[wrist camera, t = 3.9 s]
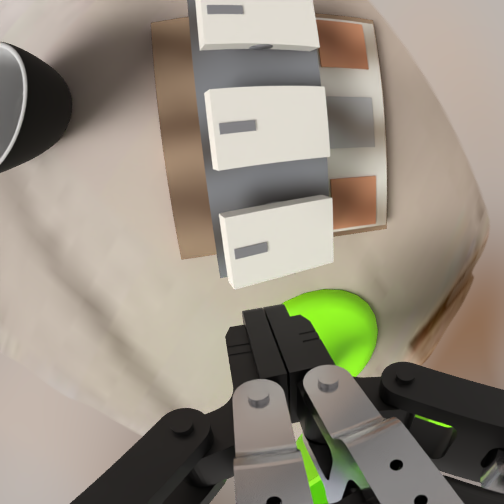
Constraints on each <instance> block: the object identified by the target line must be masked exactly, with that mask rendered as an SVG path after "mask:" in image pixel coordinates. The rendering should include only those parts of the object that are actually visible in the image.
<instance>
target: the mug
mask: <svg viewBox="0 0 504 504" xmlns="http://www.w3.org/2000/svg"><path fill="white" fill-rule="evenodd" d="M71 110H72V99H71V94H70V91H69V88H68V86H67V84H66V83H65V81H64V80H63V78H62V77H61V76H60V75H59V74H58V73H57V72H56V71H55V70H54V69H53V68H51V67H50V66H49V65H48V64H46V63H45V62H43V61H42V60H40V59H39V58H37V57H36V56H34V55H32V54H31V53H29V52H27V51H25V50H23V49H21V48H19V47H16V46H14V45H11V44H8V43H4V42H0V173H1V172H4V171H6V170H9V169H11V168H14V167H16V166H18V165H20V164H22V163H25V162H27V161H29V160H31V159H33V158H35V157H36V156H38V155H40V154H42V153H43V152H45V151H46V150H48V149H49V148H50V147H51V146H53V145H54V144H55V143H56V142H57V141H58V140H59V138H60V137H61V136H62V134H63V133H64V131H65V129H66V127H67V125H68V123H69V120H70V116H71Z"/></svg>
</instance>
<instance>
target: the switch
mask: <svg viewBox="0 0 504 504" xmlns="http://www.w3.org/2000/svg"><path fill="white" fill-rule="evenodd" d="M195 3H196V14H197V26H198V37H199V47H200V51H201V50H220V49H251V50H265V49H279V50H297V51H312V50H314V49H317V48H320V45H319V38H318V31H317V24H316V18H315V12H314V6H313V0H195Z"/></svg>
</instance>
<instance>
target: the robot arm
mask: <svg viewBox="0 0 504 504" xmlns="http://www.w3.org/2000/svg"><path fill="white" fill-rule="evenodd" d="M242 316H243V323H244V325H240V326H234V327H230V328H229V330H228V332H227V334H226V336H225V338H226V344H227V351H228V357H229V364H230V370H231V376H232V382H233V394H232V397H231V398H230V400H229V401H228V402H227V403H226V404H225V405H224V406H222V407H221V408H219V409H217V410H215V411H213V412H210V413H208V414H203V413H202V412H200V411H198V410H196V409H191V408H181V409H176V410H173V411H171V412H169V413H167V414H166V415H165V416H163V417H162V418H161V419H160V420H159V421H158V422H157V423H156V424H155V425H154V426H153V427H152V428H151V429H150V430H149V431H148V432H147V433H146V434H145V435H144V436H143V437H142V438H141V439H140V440H139V441H138V442H137V443H136V444H135V445H134V446H132V448H130V449H129V450H128V451H127V452H126V453H125V454H124V455H123V456H122V457H121V458H120V459H119V460H118V461H117V462H116V463H114V464H113V465H112V466H111V467H110V468H109V469H108V470H107V471H106V472H105V473H104V474H103V475H101V477H99V478H98V479H97V480H96V481H95V482H94V483H93V484H92V485H90V486H89V487H88V488H87V489H86V490H85V491H84V492H82V493H81V494H80V495H79V496H78V497H77V498H76V499H75V500H73V501H72V502H71V503H70V504H209V503H210V502H211V501H212V499H213V498H214V497H215V496H216V494H217V493H218V492H219V490H220V489H221V488H222V486H223V485H224V484H225V482H226V480H227V479H228V478H231V477H233V476H234V482H235V498H236V504H314V503H313V499H312V495H311V491H310V487H309V482H308V478H307V474H306V470H305V466H304V461H303V457H302V454H301V451H300V449H298V448H297V445H296V441H295V437H294V433H293V428H292V424H291V423H296V422H300V424H301V427H302V430H303V433H302V438H303V442H304V444H305V447H306V449H307V451H308V453H309V455H310V457H311V459H312V461H313V463H314V466H315V468H316V470H317V472H318V474H319V476H320V478H321V480H322V482H323V485H324V487H325V491H326V497H327V501H328V504H504V390H501V389H498V388H495V387H491V386H487V385H484V384H480V383H476V382H473V381H469V380H466V379H462V378H459V377H456V376H452V375H449V374H445V373H442V372H439V371H435V370H432V369H429V368H426V367H423V366H420V365H417V364H413V363H410V362H397V363H393V364H391V365H389V366H388V367H386V368H385V369H384V371H383V373H382V376H381V377H366V378H360V377H353V376H352V375H351V374H350V373H349V372H348V371H347V370H346V369H344V368H342V367H339V366H336V365H335V363H334V361H333V359H332V358H331V356H330V354H329V352H328V351H327V349H326V347H325V346H324V344H323V342H322V340H321V339H320V337H319V335H318V333H317V332H316V330H315V328H314V327H313V325H312V323H311V321H309V320H308V319H306V318H305V317H303V316H302V315H296V316H290V315H289V313H288V311H287V309H286V307H285V305H284V304H280V305H275V306H269V307H264V308H258V309H252V310H246V311H242ZM415 415H418V416H421V417H424V418H427V419H430V420H433V421H436V422H439V423H442V424H446V425H449V426H451V427H444V426H441V425H438V424H435V423H432V422H429V421H426V420H423V419H420V418H417V417H415ZM440 471H442V472H445V473H449V474H452V475H455V476H459V477H462V478H465V479H469V480H472V481H476V482H480V483H481V486H482V487H479V486H476V485H472V484H469V483H466V482H463V481H460V480H457V479H454V478H451V477H448V476H444V475H442V474H441V473H440Z"/></svg>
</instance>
